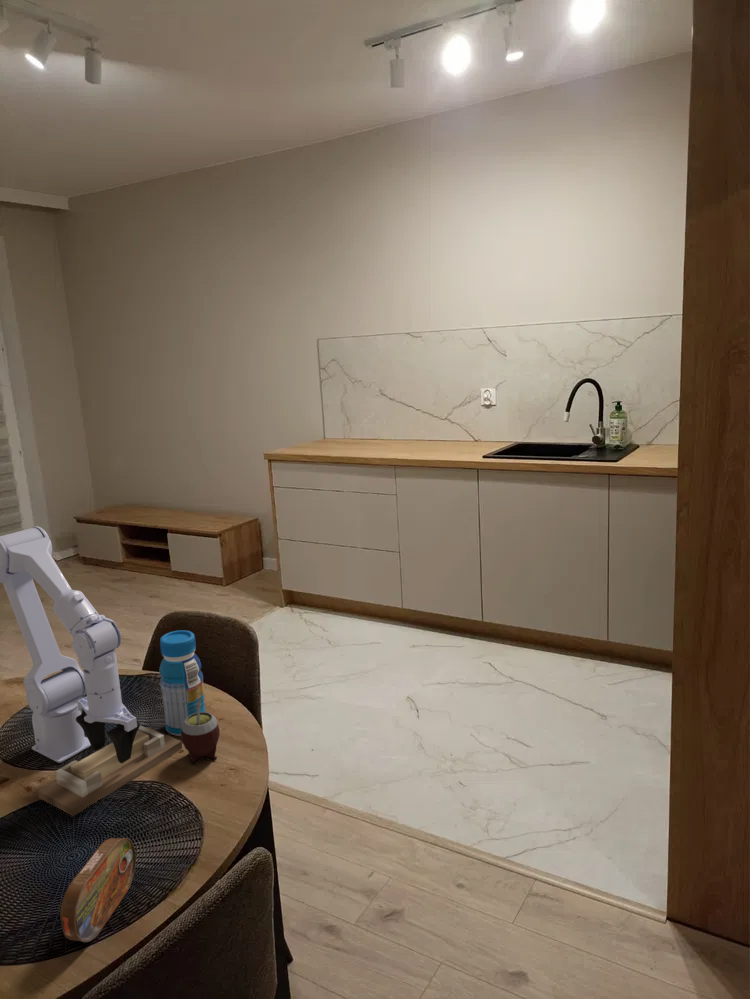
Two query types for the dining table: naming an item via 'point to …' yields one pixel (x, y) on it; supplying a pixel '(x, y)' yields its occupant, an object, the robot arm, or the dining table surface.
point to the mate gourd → (200, 735)
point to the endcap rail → (83, 793)
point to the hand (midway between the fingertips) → (111, 753)
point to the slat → (107, 759)
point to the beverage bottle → (180, 679)
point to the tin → (98, 889)
